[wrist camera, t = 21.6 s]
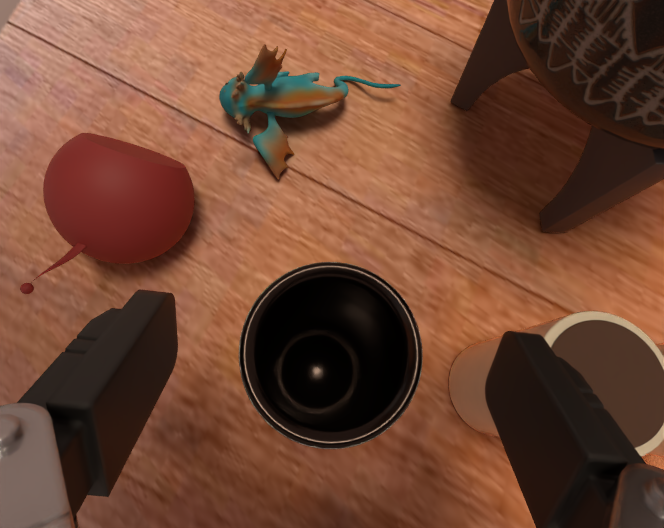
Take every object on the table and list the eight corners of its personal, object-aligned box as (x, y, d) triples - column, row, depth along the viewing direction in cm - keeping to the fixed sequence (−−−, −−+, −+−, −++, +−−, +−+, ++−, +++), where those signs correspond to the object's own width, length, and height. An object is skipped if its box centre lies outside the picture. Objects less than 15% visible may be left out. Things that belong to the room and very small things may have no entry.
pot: (456, 440, 20) (555, 468, 12) (441, 344, 21) (524, 314, 13) (546, 432, 20) (699, 454, 12) (527, 338, 21) (655, 305, 14)
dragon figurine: (296, 5, 25) (190, 31, 20) (407, 19, 22) (313, 54, 17) (302, 114, 30) (216, 158, 25) (396, 139, 26) (318, 196, 21)
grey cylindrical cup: (251, 399, 20) (203, 402, 10) (292, 309, 21) (285, 233, 11) (343, 439, 19) (386, 483, 10) (378, 346, 21) (447, 301, 11)
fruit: (90, 236, 23) (-56, 262, 16) (115, 134, 22) (-32, 108, 14) (192, 277, 23) (95, 324, 15) (223, 176, 22) (134, 172, 14)
